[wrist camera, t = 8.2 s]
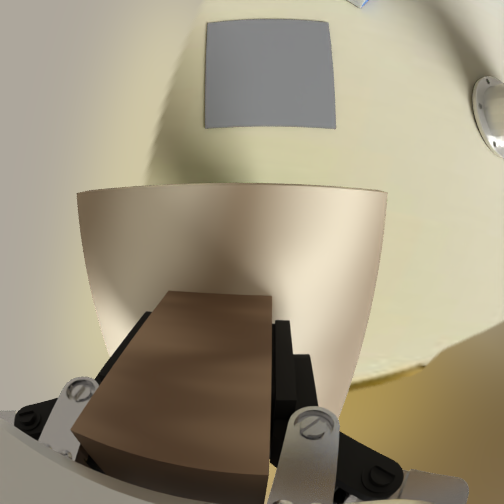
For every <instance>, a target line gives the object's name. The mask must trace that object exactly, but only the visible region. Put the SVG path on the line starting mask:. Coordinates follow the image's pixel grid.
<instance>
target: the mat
mask: <svg viewBox="0 0 504 504" xmlns="http://www.w3.org/2000/svg"><path fill="white" fill-rule="evenodd" d="M251 126H285V127H312V128H328V129H336V114H335V91H334V75H333V62H332V51H331V41H330V33H329V24H328V23H327V22H318V21H307V20H289V19H252V20H234V21H223V22H213V23H208V26H207V48H206V85H205V128H206V129H208V128H224V127H251Z"/></svg>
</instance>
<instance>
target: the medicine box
mask: <svg viewBox="0 0 504 504" xmlns="http://www.w3.org/2000/svg"><path fill="white" fill-rule="evenodd" d="M347 1H349V2H351V3H352V4H354V5H356V6H357V7H359V8H361V7H362V6H363V5H364V4H365V3H366V2H367V1H368V0H347Z"/></svg>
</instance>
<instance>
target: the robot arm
mask: <svg viewBox="0 0 504 504" xmlns="http://www.w3.org/2000/svg"><path fill="white" fill-rule="evenodd" d="M472 100H473V110H474V115H475V119H476V122H477V125H478V128H479V131H480V133H481V135H482V137H483V139H484V141H485V142H486V144H487V146H488V147H489V148H490V149H491V151H492V152H493V153H495V154H496V155H497V156H499V157H501V158H504V83H502V82H501V81H500V80H498V79H497V78H494V77H491V76H486V77H482V78H480V79H479V80H478V81H477V82H476V84H475V86H474V89H473V98H472ZM151 313H152V312H150V311H146V312H145V313H144V314H143V316H142V317H141V318H140V319H139V321H138V322H137V323H136V324H135V326H134V327H133V328H132V330H131V331H130V332H129V333H128V335H127V336H126V337H125V339H124V340H123V341H122V343H121V344H120V345H119V347H118V348H117V349H116V351H115V352H114V353H113V355H112V356H111V357H110V359H109V360H108V361H107V363H106V364H105V365H104V367H103V368H102V369H101V371H100V372H99V374H98V375H97V377H96V378H95V379H92V378H89V377H78V378H74V379H72V380H70V381H69V382H68V383H67V384H66V385H65V386H64V388H63V390H62V391H61V393H60V396H59V397H58V398H55V399H52V400H48V401H44V402H41V403H37V404H33V405H29V406H25V407H23V408H21V409H20V410H19V411H18V412H16V411H0V504H216V503H209V502H203V501H197V500H191V499H186V498H181V497H176V496H172V495H168V494H164V493H160V492H156V491H152V490H149V489H145V488H142V487H139V486H136V485H132V484H129V483H126V482H124V481H121V480H118V479H115V478H113V477H110V476H107V475H106V474H105V472H104V471H103V470H102V469H101V468H100V467H99V466H98V465H97V463H96V462H95V461H94V460H93V459H92V458H91V456H90V455H89V454H88V453H87V451H86V450H85V449H84V448H83V446H82V445H81V444H80V443H79V441H78V440H77V439H76V437H75V436H74V435H73V433H72V432H71V430H70V429H71V428H72V426H73V424H74V423H75V421H76V420H77V418H78V417H79V415H80V414H81V412H82V411H83V409H84V408H85V406H86V405H87V403H88V402H89V400H90V399H91V397H92V396H93V394H94V393H95V391H96V390H97V388H98V387H99V385H100V384H101V382H102V381H103V379H104V378H105V377H106V375H107V374H108V372H109V371H110V369H111V368H112V367H113V365H114V364H115V362H116V361H117V359H118V358H119V357H120V355H121V354H122V352H123V351H124V350H125V348H126V347H127V346H128V344H129V343H130V341H131V340H132V339H133V337H134V336H135V335H136V333H137V332H138V330H139V329H140V328H141V326H142V325H143V324H144V322H145V321H146V320H147V318H148V317H149V316H150V314H151ZM339 429H340V425H339V420H338V418H337V417H336V415H335V414H334V413H332V412H331V411H330V410H328V409H325V408H323V407H319V406H318V400H317V393H316V387H315V381H314V375H313V369H312V363H311V357H310V355H309V354H293V348H292V337H291V327H290V320H275V324H272V369H271V420H270V453H269V459H270V463H271V464H273V465H274V466H275V467H276V468H277V470H276V474H275V478H274V482H273V485H272V488H271V492H270V495H269V499H268V502H267V504H466V502H467V498H468V494H469V492H468V491H469V488H468V485H467V483H466V482H465V481H464V480H463V479H461V478H458V477H451V476H445V475H439V474H433V473H428V472H423V471H418V470H414V469H411V470H410V471H405V470H402V468H401V467H400V465H399V464H398V463H396V462H395V461H394V460H392V459H390V458H388V457H386V456H384V455H382V454H380V453H378V452H376V451H374V450H372V449H370V448H368V447H367V446H365V445H363V444H361V443H359V442H357V441H356V440H354V439H352V438H350V437H349V436H347V435H345V434H343V433H342V432H340V431H339Z"/></svg>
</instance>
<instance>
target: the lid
mask: <svg viewBox="0 0 504 504" xmlns="http://www.w3.org/2000/svg"><path fill="white" fill-rule="evenodd" d="M77 204H78V214H79V224H80V232H81V239H82V246H83V252H84V258H85V264H86V269H87V274H88V279H89V284H90V288H91V293H92V297H93V301H94V305H95V309H96V313H97V317H98V321H99V324H100V328H101V331H102V334H103V337H104V341H105V344H106V347H107V350H108V353H109V356H110V357H111V356H112V355H113V353H114V352H115V351H116V349H117V348H118V347H119V345H120V344H121V343H122V341H123V340H124V339H125V337H126V336H127V335H128V333H129V332H130V331H131V330H132V328H133V327H134V326H135V324H136V323H137V322H138V321H139V319H140V318H141V317H142V316H143V314H144V313H145V312H146V311H150V312H152V313H151V314H150V316H149V317H148V318H147V320H146V321H145V322H144V324H143V325H142V326H141V328H140V329H139V330H138V332H137V333H136V335H135V336H134V337H133V339H132V340H131V341H130V343H129V344H128V346H127V347H126V348H125V350H124V351H123V352H122V354H121V355H120V357H119V358H118V359H117V361H116V362H115V364H114V365H113V367H112V368H111V369H110V371H109V372H108V374H107V375H106V377H105V378H104V379H103V381H102V382H101V384H100V385H99V387H98V388H97V390H96V391H95V393H94V394H93V396H92V397H91V399H90V400H89V402H88V403H87V405H86V406H85V408H84V409H83V411H82V412H81V414H80V415H79V417H78V418H77V420H76V421H75V423H74V424H73V426H72V428H71V429H70V430H71V432H72V433H73V435H74V436H75V437H76V439H77V440H78V441H79V443H80V444H81V445H82V446H83V448H84V449H85V450H86V451H87V453H88V454H89V455H90V456H91V458H92V459H93V460H94V461H95V462H96V463H97V465H98V466H99V467H100V468H101V469H102V470H103V471H104V472H105V474H106V475H107V476H110V477H113V478H115V479H118V480H121V481H124V482H126V483H129V484H132V485H136V486H139V487H142V488H145V489H149V490H152V491H156V492H160V493H164V494H168V495H172V496H176V497H181V498H186V499H191V500H197V501H203V502H209V503H216V504H264V500H265V495H266V488H267V482H268V476H269V453H270V420H271V369H272V324H275V320H290V327H291V337H292V348H293V354H309V355H310V357H311V363H312V369H313V375H314V381H315V387H316V393H317V400H318V406H319V407H323V408H325V409H328V410H330V411H331V412H332V413H334V414H335V415H336V417H337V418H339V415H340V413H341V410H342V407H343V404H344V402H345V398H346V396H347V393H348V390H349V387H350V384H351V381H352V378H353V374H354V371H355V368H356V365H357V361H358V358H359V354H360V351H361V347H362V343H363V339H364V335H365V331H366V327H367V323H368V319H369V315H370V310H371V306H372V301H373V296H374V291H375V286H376V280H377V275H378V269H379V263H380V256H381V249H382V242H383V234H384V226H385V216H386V206H387V192H383V191H379V190H372V189H361V188H349V187H336V186H321V185H302V184H274V183H195V184H167V185H149V186H133V187H122V188H109V189H98V190H89V191H85V192H80V193H77Z"/></svg>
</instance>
